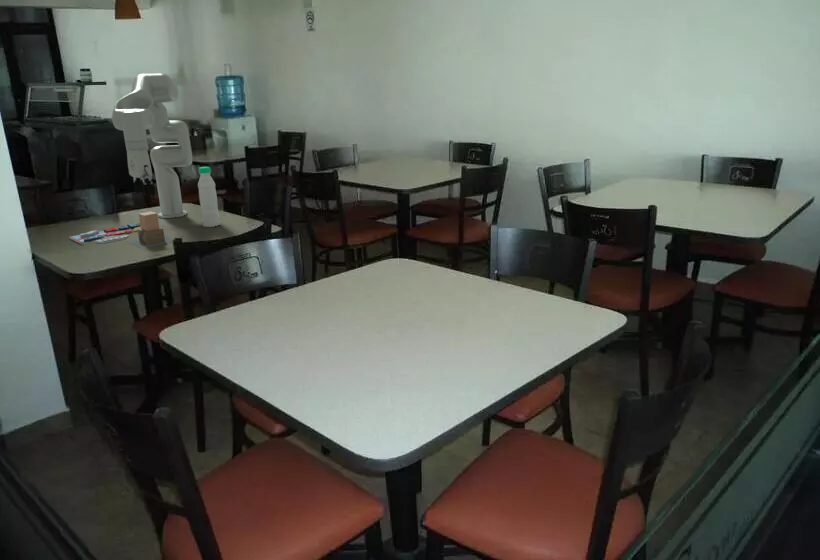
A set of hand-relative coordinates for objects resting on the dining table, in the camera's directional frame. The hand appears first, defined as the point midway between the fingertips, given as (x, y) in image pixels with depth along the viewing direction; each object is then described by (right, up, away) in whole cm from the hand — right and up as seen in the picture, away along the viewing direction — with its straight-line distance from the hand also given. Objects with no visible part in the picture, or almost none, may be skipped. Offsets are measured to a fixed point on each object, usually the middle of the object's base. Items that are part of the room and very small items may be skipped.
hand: (144, 193), depth 232 cm
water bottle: (+15, -10, +33) cm, 37 cm away
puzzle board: (-18, -16, +19) cm, 30 cm away
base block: (0, -18, +6) cm, 19 cm away
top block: (0, -13, +5) cm, 14 cm away
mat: (0, -19, +6) cm, 20 cm away
